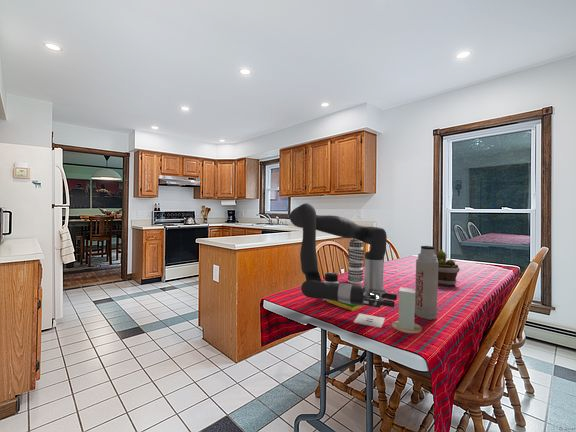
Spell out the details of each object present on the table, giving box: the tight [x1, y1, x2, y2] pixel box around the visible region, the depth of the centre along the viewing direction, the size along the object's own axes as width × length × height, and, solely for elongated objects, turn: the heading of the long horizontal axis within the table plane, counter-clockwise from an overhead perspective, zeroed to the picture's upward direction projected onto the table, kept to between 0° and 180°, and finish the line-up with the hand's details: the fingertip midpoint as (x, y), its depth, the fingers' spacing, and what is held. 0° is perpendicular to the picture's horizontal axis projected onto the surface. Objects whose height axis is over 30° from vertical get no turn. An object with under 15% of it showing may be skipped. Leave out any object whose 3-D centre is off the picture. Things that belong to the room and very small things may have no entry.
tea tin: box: [397, 286, 416, 330], centre depth 102 cm, size 5×5×13 cm
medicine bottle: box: [322, 272, 340, 302], centre depth 133 cm, size 7×7×12 cm
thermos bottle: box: [415, 245, 439, 320], centre depth 113 cm, size 8×8×28 cm
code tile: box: [353, 312, 386, 328], centre depth 108 cm, size 10×10×1 cm
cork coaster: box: [391, 320, 423, 334], centre depth 102 cm, size 10×10×1 cm
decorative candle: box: [347, 238, 365, 285], centre depth 164 cm, size 9×9×25 cm
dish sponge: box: [326, 299, 363, 312], centre depth 125 cm, size 7×14×2 cm, turn 43°
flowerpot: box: [435, 249, 460, 287], centre depth 161 cm, size 14×15×20 cm
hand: (395, 300), depth 104 cm, fingers open, 8 cm apart
